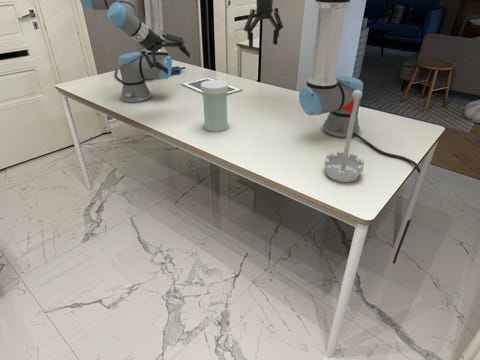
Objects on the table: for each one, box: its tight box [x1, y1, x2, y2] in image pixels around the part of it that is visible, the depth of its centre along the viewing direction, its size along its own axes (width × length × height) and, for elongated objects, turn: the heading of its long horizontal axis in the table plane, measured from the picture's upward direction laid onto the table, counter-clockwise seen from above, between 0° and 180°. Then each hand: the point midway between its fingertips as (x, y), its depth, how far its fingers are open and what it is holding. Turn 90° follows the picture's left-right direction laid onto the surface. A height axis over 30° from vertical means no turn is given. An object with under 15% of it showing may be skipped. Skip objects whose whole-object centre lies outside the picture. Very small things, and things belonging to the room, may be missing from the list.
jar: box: [202, 91, 228, 133], centre depth 148 cm, size 10×10×19 cm
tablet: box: [181, 77, 242, 95], centre depth 200 cm, size 32×20×1 cm, turn 41°
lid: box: [201, 79, 229, 94], centre depth 144 cm, size 12×12×2 cm
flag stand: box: [323, 90, 365, 183], centre depth 111 cm, size 13×13×30 cm
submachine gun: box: [146, 65, 187, 81], centre depth 224 cm, size 34×4×25 cm
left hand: (178, 63), depth 157 cm, fingers open, 13 cm apart
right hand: (263, 45), depth 167 cm, fingers open, 13 cm apart
